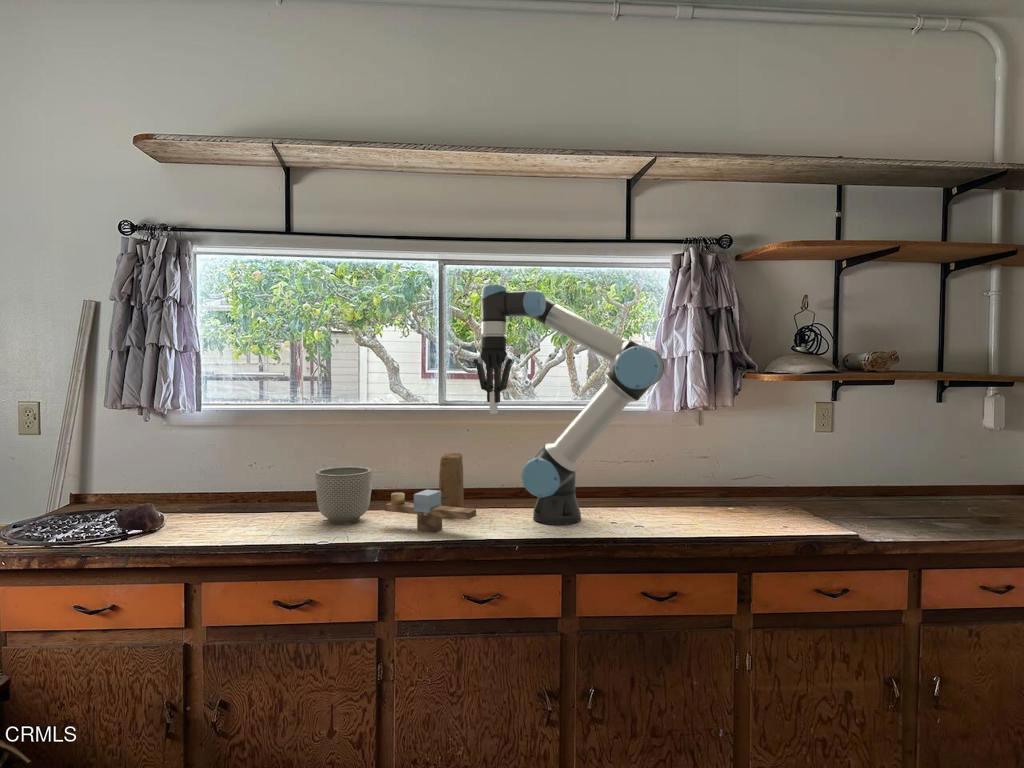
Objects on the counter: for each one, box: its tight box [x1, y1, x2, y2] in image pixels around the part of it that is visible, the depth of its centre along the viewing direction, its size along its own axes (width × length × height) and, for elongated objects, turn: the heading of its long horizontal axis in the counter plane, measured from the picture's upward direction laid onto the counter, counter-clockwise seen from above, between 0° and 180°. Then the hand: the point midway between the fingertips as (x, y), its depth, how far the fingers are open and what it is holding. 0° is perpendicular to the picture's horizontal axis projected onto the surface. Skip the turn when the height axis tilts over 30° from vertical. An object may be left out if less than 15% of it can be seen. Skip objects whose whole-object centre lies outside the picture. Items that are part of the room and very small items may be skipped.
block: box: [438, 452, 465, 508], centre depth 207 cm, size 11×8×20 cm
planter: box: [314, 466, 373, 526], centre depth 197 cm, size 17×17×16 cm
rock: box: [113, 502, 165, 533], centre depth 183 cm, size 12×9×10 cm
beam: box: [384, 491, 477, 534], centre depth 187 cm, size 28×5×10 cm, turn 68°
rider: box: [413, 489, 441, 513], centre depth 187 cm, size 5×8×5 cm, turn 158°
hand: (493, 413), depth 193 cm, fingers closed
